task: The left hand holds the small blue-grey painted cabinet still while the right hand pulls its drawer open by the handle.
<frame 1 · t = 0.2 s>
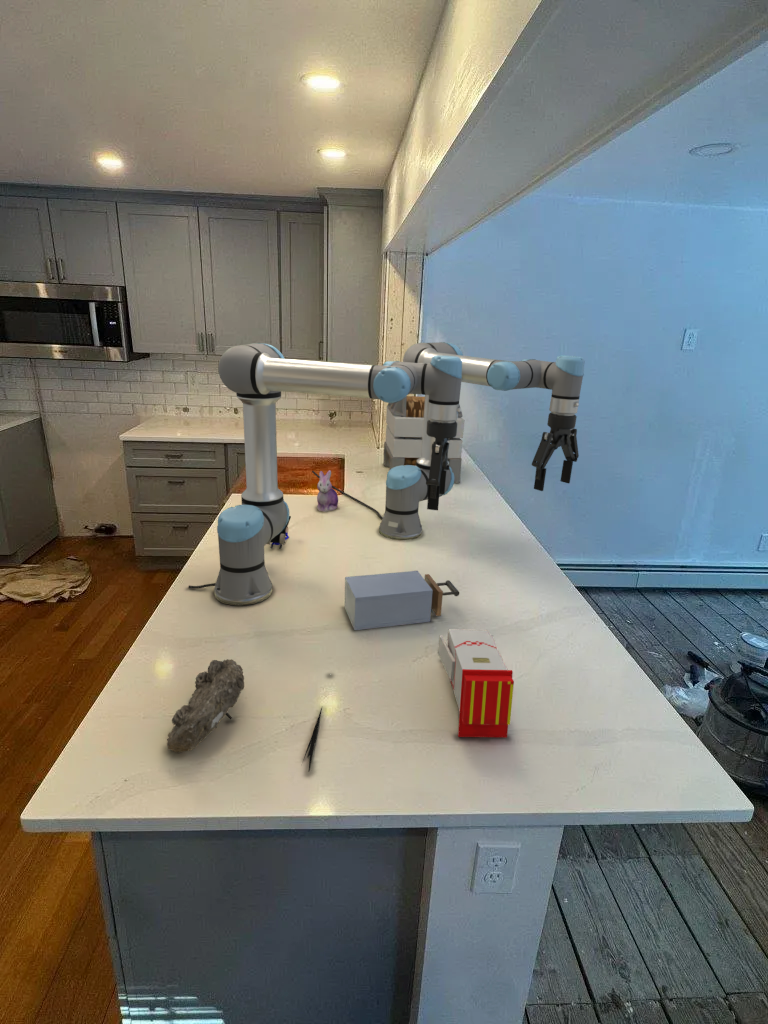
left hand: (436, 501, 148), 28 cm above the counter, tool pointing down, fingers open, 13 cm apart
right hand: (552, 486, 165), 28 cm above the counter, tool pointing down, fingers open, 13 cm apart
drawer: (411, 596, 147), point 4 cm above the counter, slide at 1.9 cm
fossil: (212, 717, 108), on the counter
cabinet: (386, 614, 147), on the counter
figurine character: (278, 543, 188), on the counter
figurine: (327, 508, 222), on the counter
feather: (319, 719, 109), on the counter
toy: (469, 691, 119), on the counter
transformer: (419, 473, 275), on the counter
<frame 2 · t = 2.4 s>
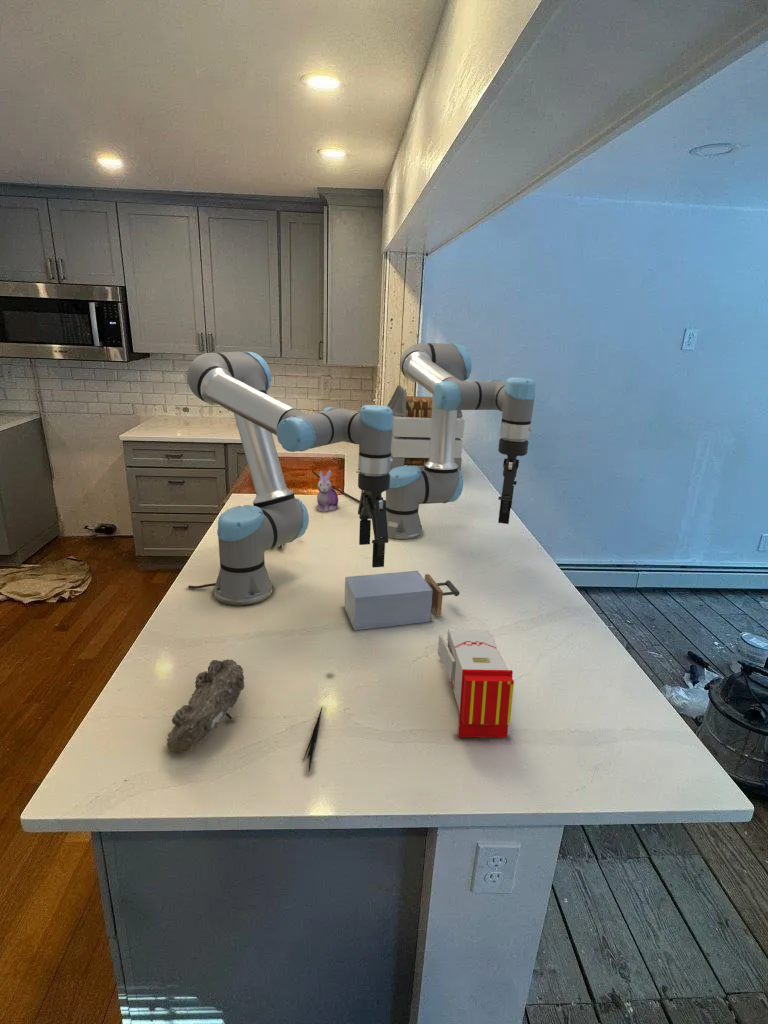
left hand: (370, 555, 141), 17 cm above the counter, tool pointing down, fingers open, 13 cm apart
right hand: (504, 514, 156), 23 cm above the counter, tool pointing down, fingers open, 13 cm apart
nothing on the counter moved.
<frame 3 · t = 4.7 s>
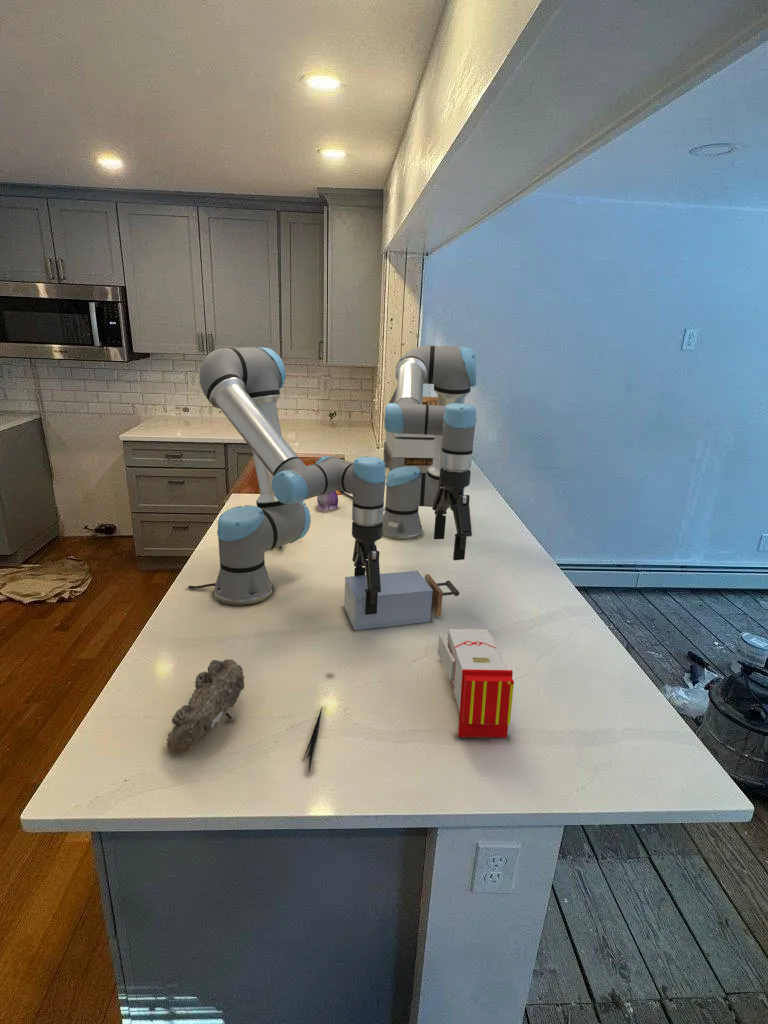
left hand: (364, 601, 144), 4 cm above the counter, tool pointing down, fingers closed on cabinet, 11 cm apart
right hand: (448, 548, 146), 17 cm above the counter, tool pointing down, fingers open, 13 cm apart
cabinet: (386, 614, 147), on the counter, touching left hand
everything else where it was.
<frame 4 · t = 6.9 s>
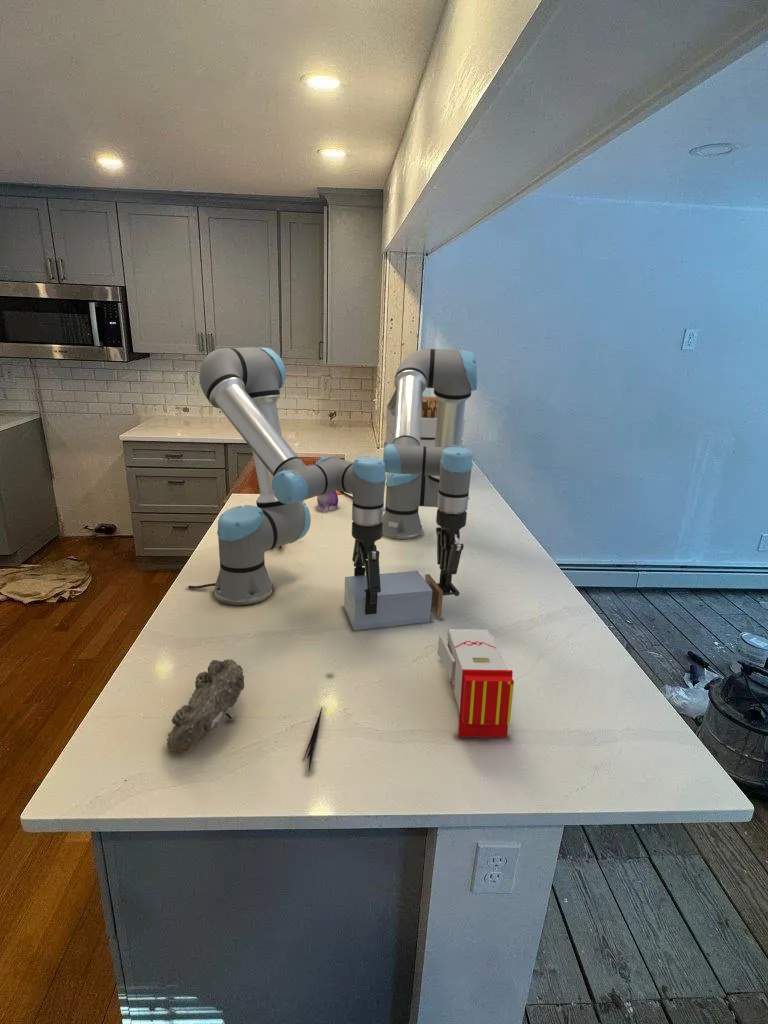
left hand: (364, 601, 144), 4 cm above the counter, tool pointing down, fingers closed on cabinet, 11 cm apart
right hand: (444, 593, 150), 4 cm above the counter, tool pointing down, fingers closed
drawer: (411, 596, 147), point 4 cm above the counter, slide at 2.0 cm, touching right hand
cabinet: (386, 614, 147), on the counter, touching left hand
everything else where it was.
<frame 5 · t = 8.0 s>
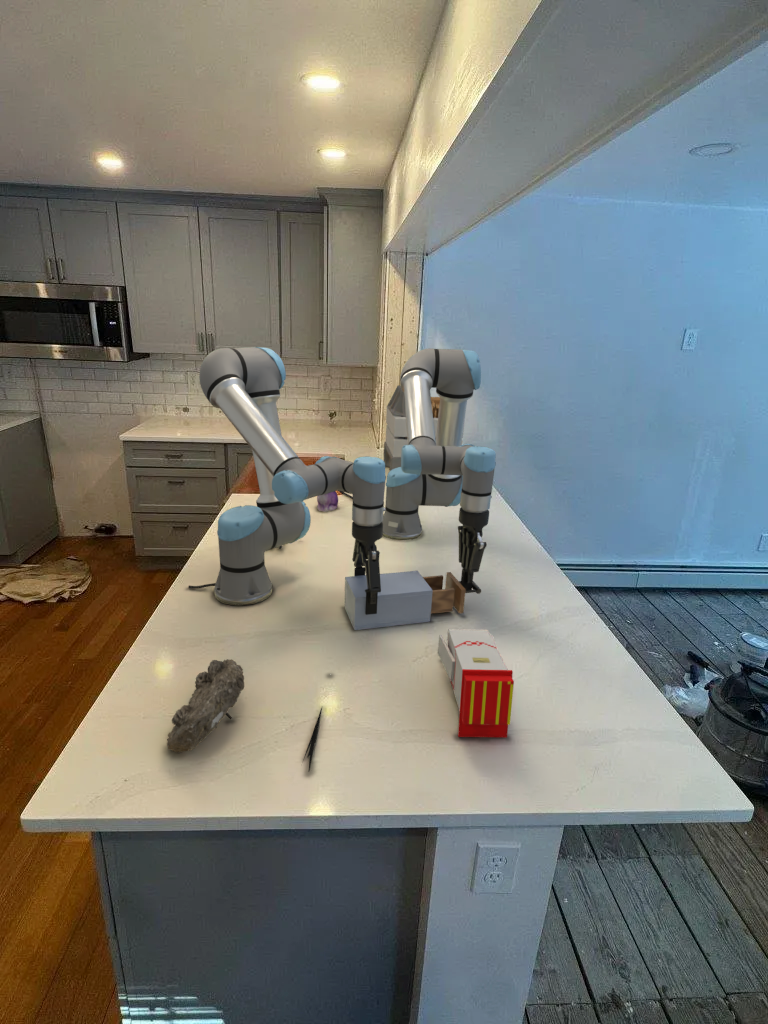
left hand: (364, 601, 144), 4 cm above the counter, tool pointing down, fingers closed on cabinet, 11 cm apart
right hand: (465, 591, 152), 4 cm above the counter, tool pointing down, fingers closed
drawer: (433, 594, 149), point 4 cm above the counter, slide at 8.2 cm, touching right hand
cabinet: (386, 614, 147), on the counter, touching left hand
everything else where it was.
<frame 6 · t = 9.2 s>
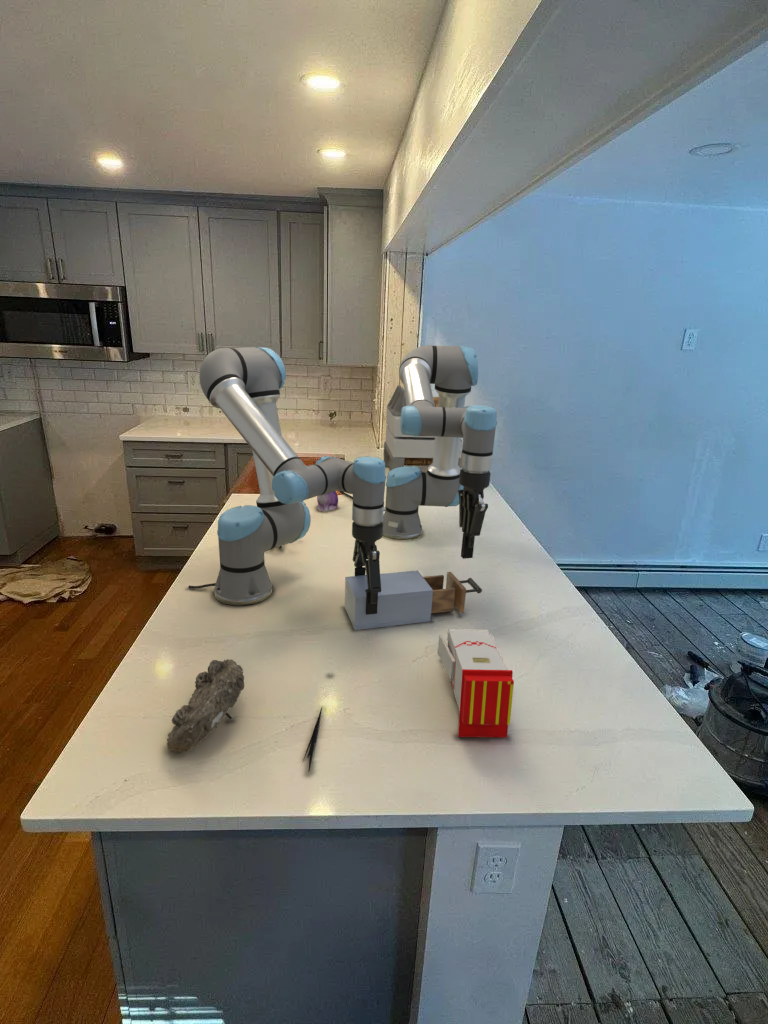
left hand: (365, 601, 144), 4 cm above the counter, tool pointing down, fingers closed on cabinet, 11 cm apart
right hand: (466, 557, 148), 15 cm above the counter, tool pointing down, fingers closed
drawer: (434, 594, 149), point 5 cm above the counter, slide at 8.2 cm
cabinet: (386, 614, 147), on the counter, touching left hand
everything else where it was.
when the left hand's fingers open (4 cm above the counter, at t = 10.0 s): cabinet stays where it is, on the counter.
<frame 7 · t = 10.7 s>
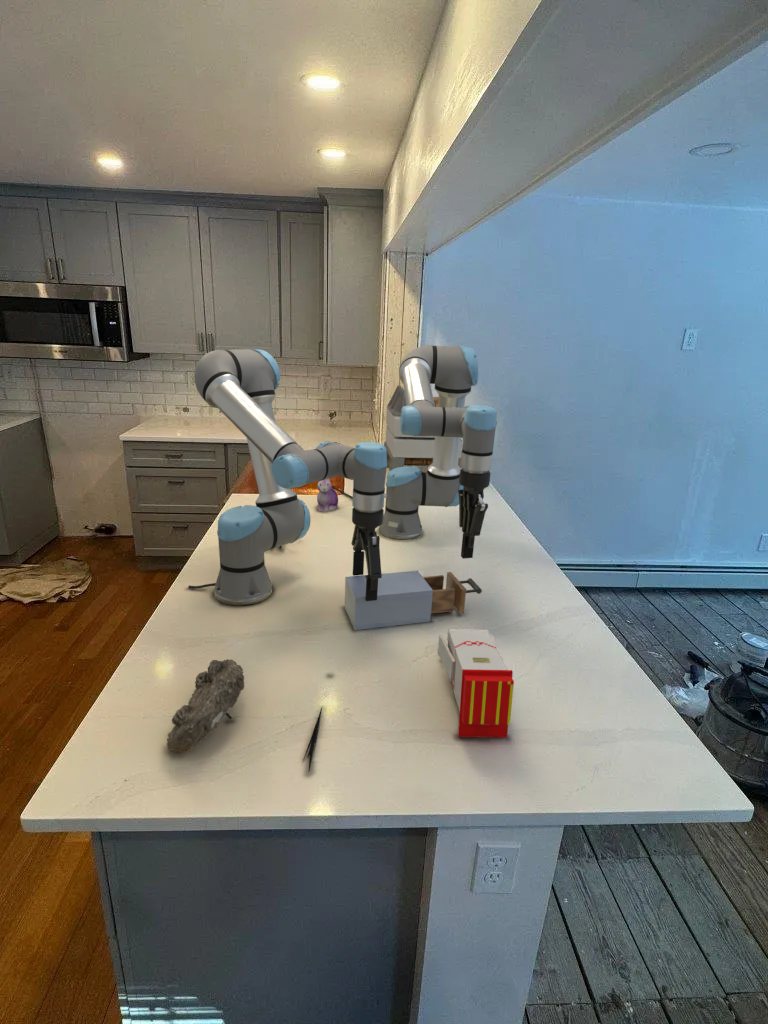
left hand: (364, 586, 143), 8 cm above the counter, tool pointing down, fingers open, 13 cm apart
right hand: (466, 556, 148), 15 cm above the counter, tool pointing down, fingers closed
cabinet: (386, 614, 147), on the counter
everything else where it was.
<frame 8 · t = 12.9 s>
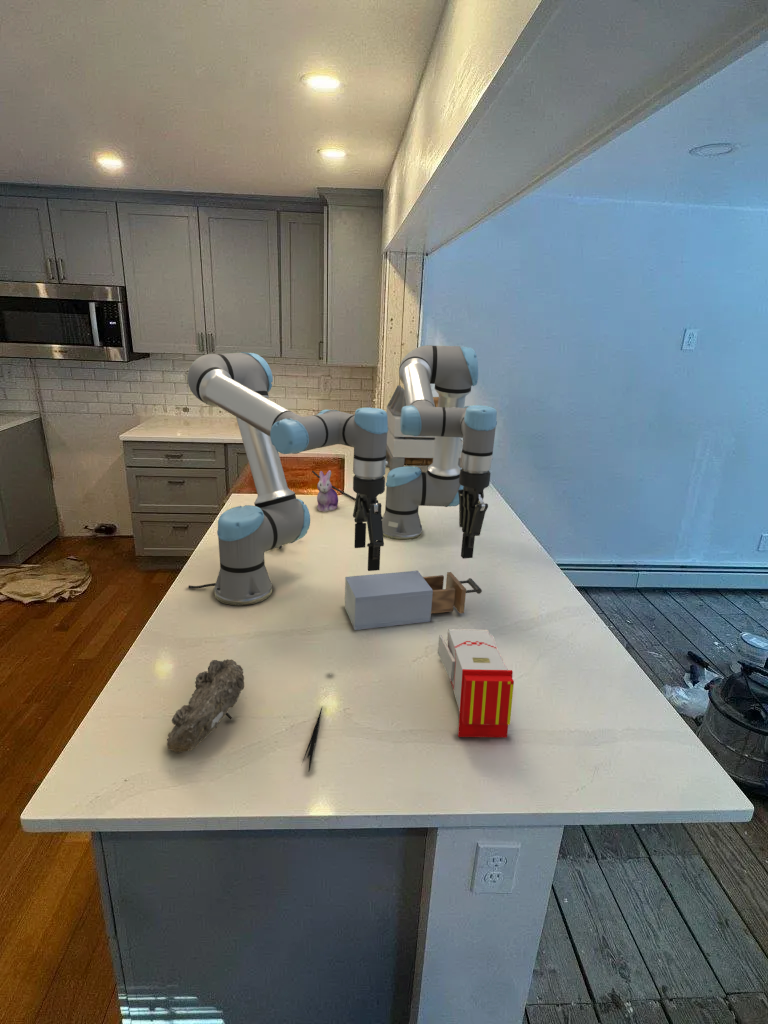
left hand: (366, 558, 140), 16 cm above the counter, tool pointing down, fingers open, 13 cm apart
right hand: (466, 556, 148), 15 cm above the counter, tool pointing down, fingers closed
nothing on the counter moved.
at the end: drawer slide at 8.2 cm; cabinet tilted 0°; cabinet never tilted more than 1° during the clip; cabinet moved 0.1 cm from its start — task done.
